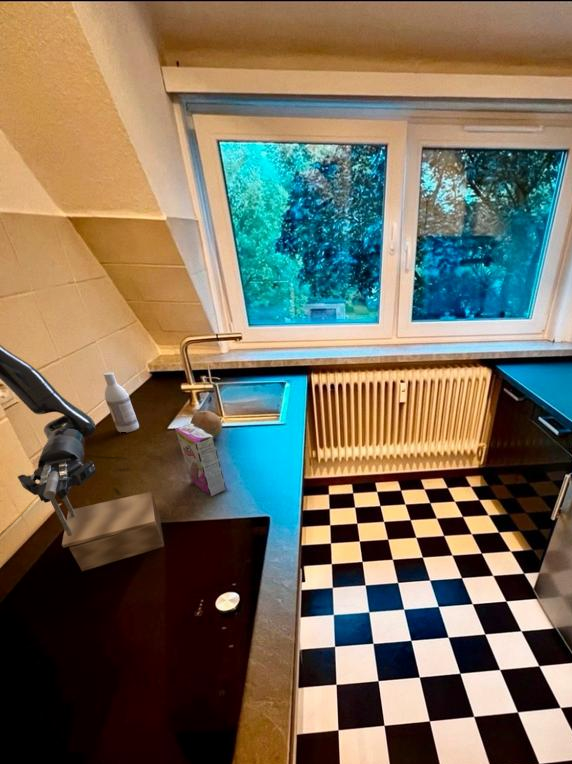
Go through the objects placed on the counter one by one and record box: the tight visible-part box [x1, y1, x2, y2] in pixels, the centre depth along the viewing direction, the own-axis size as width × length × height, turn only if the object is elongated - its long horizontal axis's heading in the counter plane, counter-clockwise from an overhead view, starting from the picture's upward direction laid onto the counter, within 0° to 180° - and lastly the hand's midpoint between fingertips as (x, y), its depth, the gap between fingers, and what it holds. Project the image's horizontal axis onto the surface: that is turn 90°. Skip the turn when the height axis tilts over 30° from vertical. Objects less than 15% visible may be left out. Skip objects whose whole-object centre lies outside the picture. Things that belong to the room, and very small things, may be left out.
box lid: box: [43, 471, 155, 549], centre depth 80 cm, size 16×13×12 cm
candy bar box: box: [174, 423, 227, 498], centre depth 101 cm, size 11×5×16 cm, turn 47°
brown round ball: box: [190, 410, 223, 440], centre depth 127 cm, size 10×10×10 cm
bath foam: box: [103, 371, 140, 434], centre depth 131 cm, size 7×7×20 cm
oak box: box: [68, 495, 165, 572], centre depth 85 cm, size 16×13×6 cm
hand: (52, 496), depth 73 cm, fingers closed on box lid, 2 cm apart
